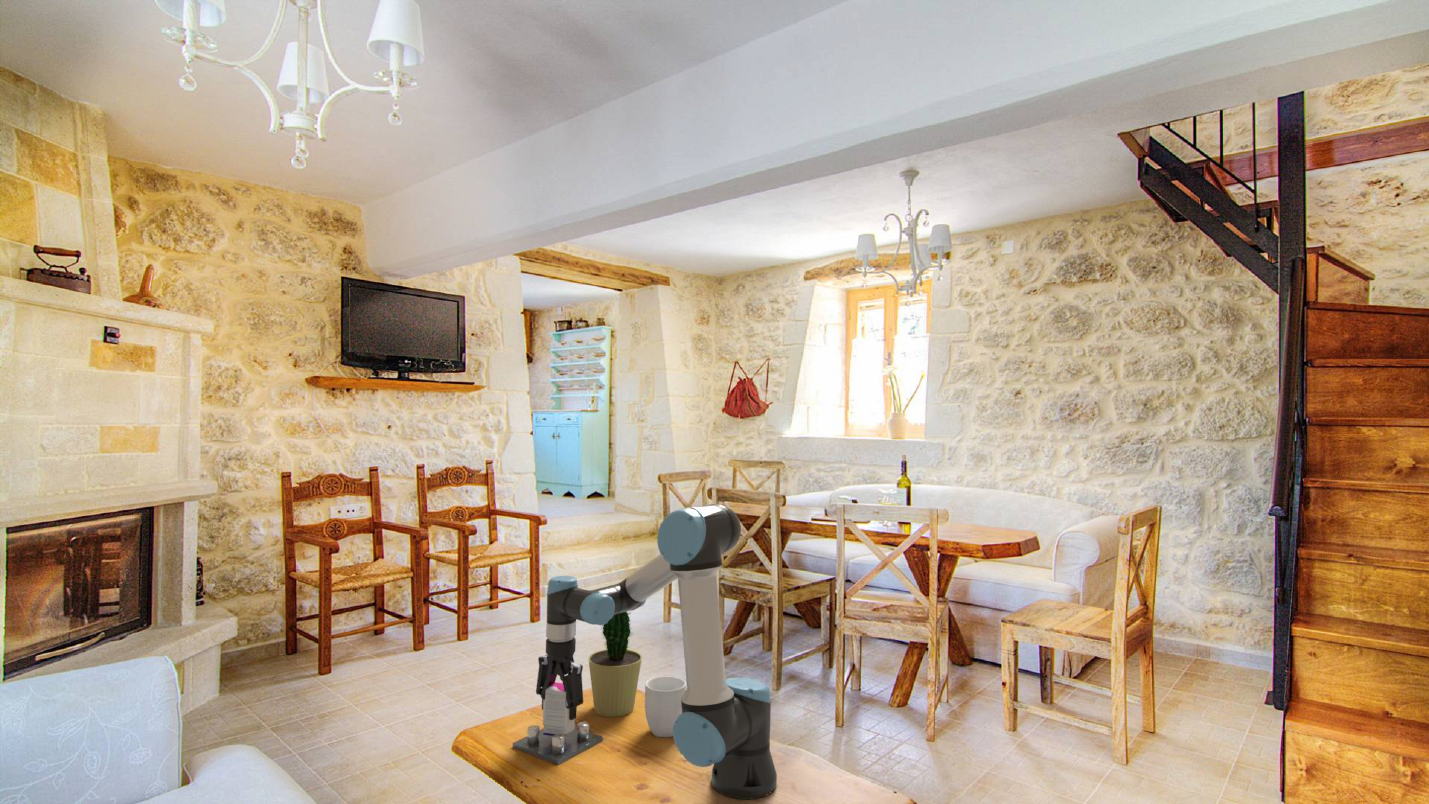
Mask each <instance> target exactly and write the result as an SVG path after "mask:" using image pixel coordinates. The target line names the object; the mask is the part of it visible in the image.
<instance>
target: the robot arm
mask: <svg viewBox="0 0 1429 804" xmlns="http://www.w3.org/2000/svg"><path fill="white" fill-rule="evenodd" d="M741 534H742V524H741V521H740V518H739V517H738V515H737V513H735V511H734V510H732V509H731V508H730V507H728V506H726V505H724V504H720V503H712V504H707V505H699V506H693V507H692V506H691V507H690V506H689V507H683V508H680V509H676V510H673V511H672V512H670V513H668V514H667V515H666V516H665V517H664V518H663V520H662V521H661V523H660V525H659V528H658V531H657V536H656V542H657V548H658V551H659V555H657V556H656V557H653V559H651V560H650V561H649V562H647V563H646V564H644V565H643V566H641V567H640V568H639V569H637V570H636V571H635V572H633V573H631V574H630V575H628V577H626V578H624V579H623V580H621V581H620V582H618V583H615V584H612V585H607V586H604V587H599V588H595V589H592V590H591V589H590V590H589V589H588V590H587V589H583V588H580V587H578V586H579V585H578V579H577V578H576V577H574V576H572V575H557V576H553V577H551V578H550V579H549V580H548V584H547V592H546V630H545V637H546V639H545V655H541V656H538V659H537V660H538V672H537V681H536V686H535V687H536V689H535V694H536V695H540V698H541V710H542V726H544V713H545V693H546V689H547V688H549V687H550V686H551V685H552V684H554V683H555V682H556V680H557V677H558V676H559V679H560V681H561V683H563V686H564V690H565V692H566V699H567V703H568V706H566V707H565V733H566V734H567V733H569V732H571V731H573V730H574V727H576V726H575V722H576V721H575V720H576V719H577V711H578V710H577V709H578V708H577V707H579V706H581V705H583V704H584V690H583V675H582V674H583V669H584V667H583V664H582V663H581V664H577V663H575V659H574V654H575V652H576V646H577V645H576V642H577V641H576V640H577V639H576V632H577V631H576V629H577V621H580V622H584V623H587V624H589V625H597V626H601V625H604V624H606V623H608V621H609V620H610V619H611V618H612V617H613V615H616V614H620V613H623V612H627V611H628V612H631V611H635V610H637V609H638V608H641V607H643V606H644V605H645V604H646V601H647V600H648V599H649V598H651V597H652V596H654V595H656V594H657V593H658V592H660V591H661V590H663V589H664V588H666V587H668V586H669V585H670V584H672V583H674V582H675V581H676V580H677V584H678V596H679V604H680V605H679V606H680V607H679V608H680V618H681V620H680V621H681V631H682V633H681V634H682V641H683V642H682V643H683V654H684V667H685V676H686V678H685V679H686V681H685V682H686V691H685V693H684V694H683V695H682V696H681V704H682V714H680V715H679V716H678V718H677V720H676V721H675V722H674V725H673V736H672V738H673V741H674V743H675V747H676V748H677V751H678V752H679V754H680V755H681V756H683V757H684V759H685V761H687V762H688V763H690V764H692V765H693V766H695V767H700V768H707V767H711V766H712V765H713V766H712V768H711V769H712V770H711V785H712V787H713V789H715V790H716V791H717V792H718V793H720V794H722V795H723V796H726V797H729V798H734V799H738V798H739V799H738V800H751V799H750V798H756V799H760V798H759V797H761V798H763V797H762V796H764V797H766V796H768V795H770V794H771V793H770V792H772V791H773V790H774V789H775V790H776V787H777V781H778V779H777V778H778V776H777V775H778V774H777V769H776V767H775V763H774V761H773V757H772V753H771V746H770V745H771V743H770V742H771V741H770V740H771V706H772V700H771V689H770V688H769V686H768V685H767V684H766V683H764V682H762V681H760V680H757V679H753V678H746V677H729V678H726V668H725V661H724V660H725V658H724V657H725V656H724V655H725V654H724V647H723V644H724V643H723V636H722V635H723V634H722V633H723V632H722V624H721V613H720V602H719V601H720V600H719V592H718V579H717V574H718V573H719V571H720V570H721V569H722V568H723V559H722V555H725V554H726V553H728V552H730V551H731V550H733V549H734V548H735V547H736V546H737V545H738V543H739V541H740V538H741V537H742V536H741ZM572 700H573V701H572ZM775 790H774V791H775ZM774 791H773V792H774ZM773 792H772V793H773ZM769 793H770V794H769ZM767 794H768V795H767ZM765 795H766V796H765Z"/></svg>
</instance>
